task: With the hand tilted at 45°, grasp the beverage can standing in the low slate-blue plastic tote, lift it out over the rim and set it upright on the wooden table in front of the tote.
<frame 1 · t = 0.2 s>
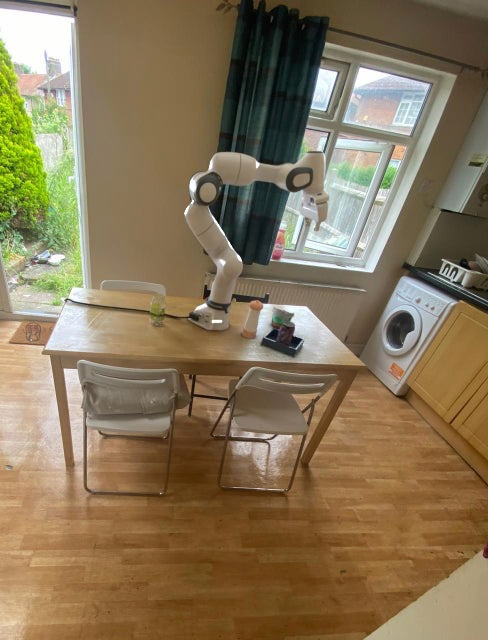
hand: (311, 228, 156), 51 cm above the table, tool tilted 20°, fingers open, 8 cm apart
pepper shaker: (248, 335, 176), on the table
food container: (277, 328, 188), on the table
beverage can: (281, 345, 171), resting on tote
tote: (281, 345, 171), on the table
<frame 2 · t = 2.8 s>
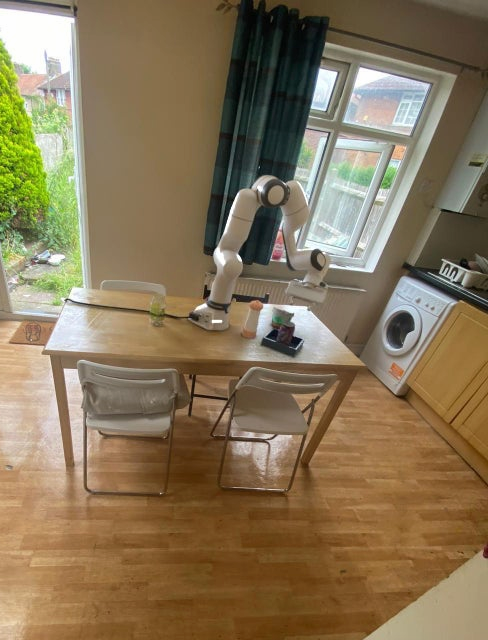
hand: (299, 307, 169), 17 cm above the table, tool tilted 45°, fingers open, 8 cm apart
nothing on the table moved.
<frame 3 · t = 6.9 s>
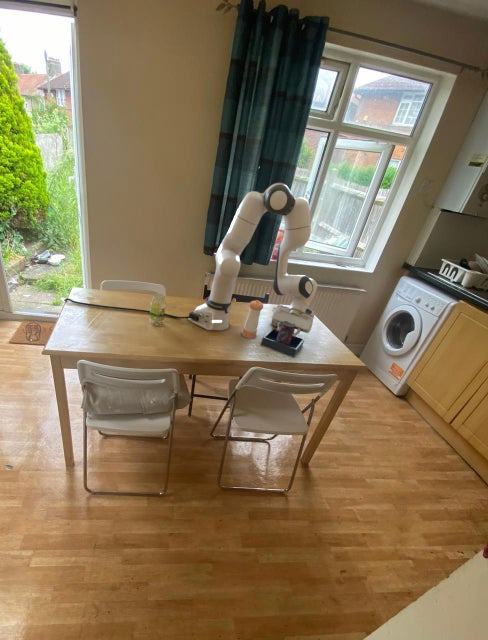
hand: (285, 334, 166), 7 cm above the table, tool tilted 45°, fingers closed on beverage can, 7 cm apart
beverage can: (281, 345, 171), resting on tote, touching gripper
everything else where it was.
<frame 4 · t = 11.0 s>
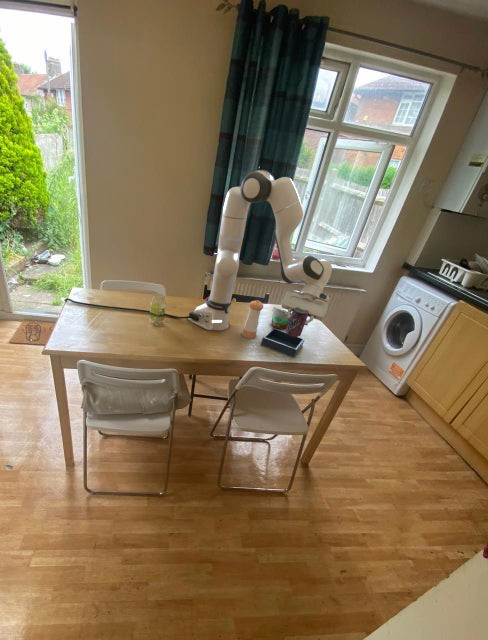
hand: (296, 321, 150), 19 cm above the table, tool tilted 45°, fingers closed on beverage can, 7 cm apart
beverage can: (292, 334, 155), point 12 cm above the table, touching gripper
everything else where it was.
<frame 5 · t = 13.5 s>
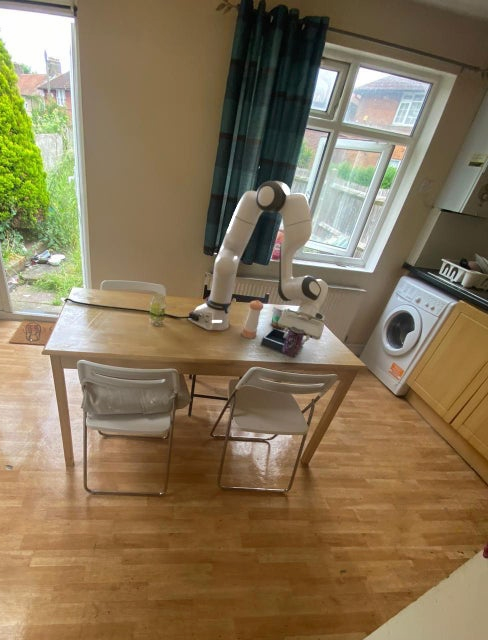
hand: (293, 340, 151), 11 cm above the table, tool tilted 45°, fingers closed on beverage can, 7 cm apart
beverage can: (289, 353, 156), point 5 cm above the table, touching gripper
everything else where it was.
when the fingers open (6 cm above the table, at t = 15.5 s): beverage can stays where it is, on the table.
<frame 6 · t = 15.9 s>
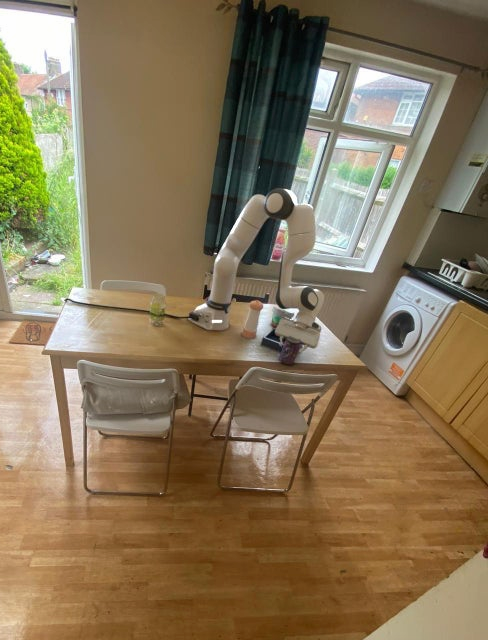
hand: (290, 349, 154), 7 cm above the table, tool tilted 45°, fingers open, 8 cm apart
beverage can: (285, 361, 159), on the table
everything else where it was.
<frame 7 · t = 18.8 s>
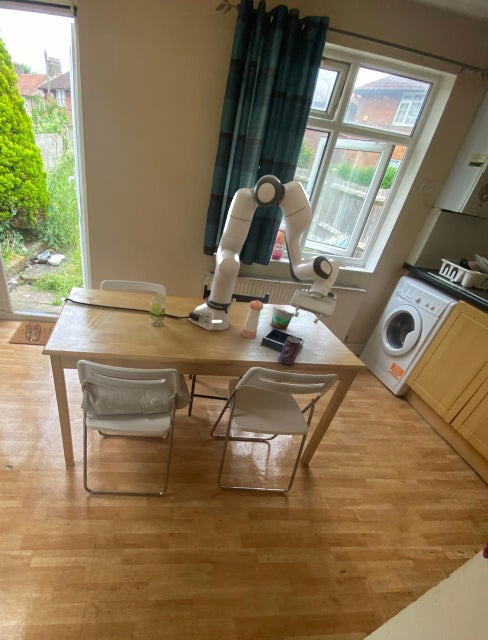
hand: (305, 319, 156), 18 cm above the table, tool tilted 45°, fingers open, 8 cm apart
nothing on the table moved.
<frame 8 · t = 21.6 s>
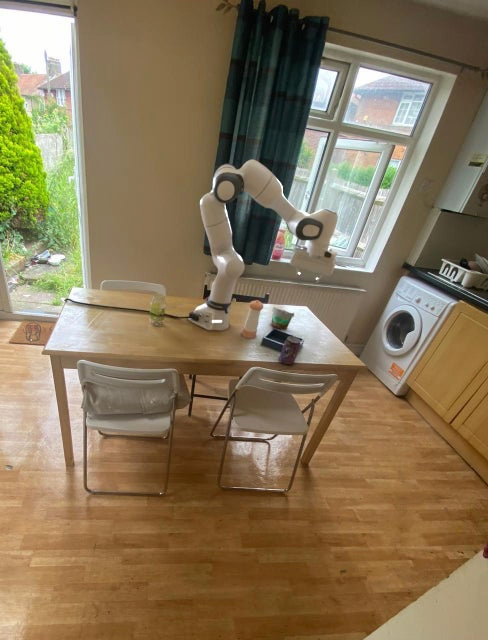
hand: (306, 279, 160), 31 cm above the table, tool pointing down, fingers open, 8 cm apart
nothing on the table moved.
at the end: beverage can inside the target area (0.4 cm from its centre), on the table; beverage can tilted 0°; the gripper is holding nothing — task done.
